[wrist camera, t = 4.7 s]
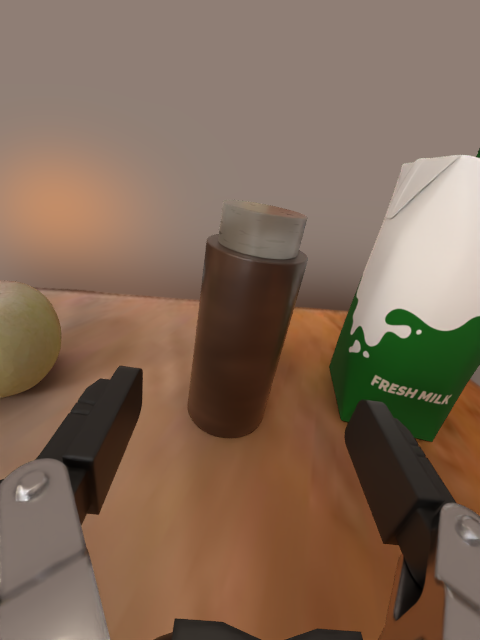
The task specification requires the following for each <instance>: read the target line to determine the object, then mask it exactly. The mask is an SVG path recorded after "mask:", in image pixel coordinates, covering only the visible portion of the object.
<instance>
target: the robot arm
mask: <svg viewBox="0 0 480 640" xmlns="http://www.w3.org/2000/svg"><path fill="white" fill-rule="evenodd" d="M142 382H143V372H142V369H140V368H133V367H126V366H119V367H118V368H117V370H116V371H115V373H114V374H113V376H112V378H111V379H110V380H108V379H101V378H100V379H99V380H97V381H96V382H95V383H93V384H92V385H90V386H89V387H88V388H86V390H85V391H84V393H83V394H82V395H81V397H80V398H79V400H78V403H76V404H75V405H74V407H73V408H72V410H71V412H70V413H69V414H68V415H67V417H66V418H65V420H64V421H63V422H62V424H61V425H60V427H59V428H58V429H57V431H56V432H55V434H54V435H53V436H52V438H51V439H50V441H49V442H48V444H47V445H46V446H45V448H44V449H43V451H42V452H41V453H40V455H39V456H38V457H37V458H36V459H35V460H34V461H31V462H28V463H26V464H24V465H22V466H20V467H18V468H17V469H16V470H14V471H13V472H12V473H10V474H9V475H8V476H7V477H6V478H5V479H3V480H0V640H110V636H109V632H108V628H107V624H106V620H105V616H104V612H103V608H102V604H101V600H100V596H99V591H98V587H97V583H96V579H95V575H94V571H93V567H92V563H91V559H90V556H89V552H88V549H87V548H86V544H85V540H84V536H83V532H82V528H81V525H82V523H83V521H84V519H85V516H86V514H97V515H99V513H100V510H101V508H102V505H103V503H104V501H105V498H106V496H107V493H108V491H109V489H110V486H111V484H112V481H113V479H114V476H115V474H116V472H117V469H118V467H119V464H120V462H121V459H122V457H123V455H124V452H125V450H126V447H127V445H128V442H129V440H130V438H131V435H132V433H133V430H134V428H135V426H136V423H137V421H138V418H139V415H140V411H141V407H142ZM345 443H346V447H347V449H348V452H349V454H350V457H351V460H352V462H353V465H354V468H355V470H356V473H357V475H358V478H359V481H360V483H361V486H362V489H363V491H364V494H365V496H366V499H367V502H368V504H369V507H370V510H371V512H372V515H373V517H374V520H375V523H376V525H377V528H378V531H379V533H380V536H381V538H382V541H383V544H392V545H399V546H400V549H401V551H402V554H401V555H400V557H399V559H398V563H397V568H396V573H395V578H394V583H393V588H392V593H391V598H390V603H389V608H388V613H387V618H386V622H385V625H384V628H383V631H382V633H381V635H380V637H379V638H378V640H480V516H479V515H478V514H476V513H475V512H473V511H472V510H470V509H469V508H467V507H465V506H462V505H460V504H457V503H456V502H455V500H454V499H453V497H452V495H451V494H450V492H449V491H448V489H447V488H446V486H445V485H444V483H443V482H442V480H441V478H440V477H439V475H438V474H437V472H436V471H435V469H434V468H433V466H432V464H431V463H430V461H429V460H428V458H426V457H425V454H424V452H423V451H422V449H421V447H418V443H417V441H416V440H415V438H414V437H413V435H412V434H411V432H410V431H409V430H408V429H407V428H406V427H405V426H404V425H403V424H402V423H401V422H400V421H399V420H398V419H397V418H394V417H393V416H392V414H391V412H390V411H389V409H388V408H387V406H386V405H385V404H384V403H383V402H378V401H370V400H360V401H359V402H358V404H357V406H356V408H355V410H354V412H353V414H352V416H351V418H350V421H349V423H348V425H347V427H346V430H345ZM154 640H261V639H258V638H256V637H254V636H252V635H250V634H248V633H245V632H243V631H241V630H239V629H237V628H234V627H232V626H230V625H228V624H226V623H224V622H216V621H202V620H188V619H175V621H174V627H173V632H172V633H169V634H166V635H163V636H160V637H158V638H156V639H154ZM286 640H363V638H362V634H361V632H356V631H342V630H328V629H315V630H312V631H309V632H306V633H303V634H300V635H297V636H294V637H292V638H289V639H286Z"/></svg>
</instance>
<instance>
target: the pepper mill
mask: <svg viewBox="0 0 480 640" xmlns="http://www.w3.org/2000/svg"><path fill="white" fill-rule="evenodd" d="M306 221H307V217H306V216H305V215H303V214H300V213H298V212H294V211H291V210H287V209H283V208H279V207H275V206H270V205H265V204H260V203H254V202H247V201H239V200H225V201H223V208H222V215H221V223H220V231H219V234H216V235H213V236H210V237H208V239H207V243H206V252H205V260H204V269H203V277H202V286H201V295H200V303H199V312H198V320H197V329H196V338H195V346H194V355H193V363H192V372H191V381H190V389H189V398H188V411H189V414H190V417H191V418H192V420H193V421H194V423H195V424H196V425H197V426H198V427H199V428H201V429H202V430H204V431H205V432H207V433H209V434H212V435H214V436H218V437H223V438H236V437H241V436H245V435H247V434H249V433H251V432H252V431H254V430H255V429H256V428H257V427H258V426H259V424H260V423H261V420H262V418H263V414H264V411H265V407H266V404H267V400H268V397H269V393H270V390H271V386H272V383H273V379H274V376H275V372H276V369H277V365H278V362H279V359H280V355H281V352H282V348H283V345H284V341H285V338H286V334H287V331H288V327H289V324H290V320H291V317H292V313H293V310H294V306H295V303H296V299H297V296H298V292H299V289H300V286H301V282H302V279H303V275H304V272H305V268H306V264H307V261H308V258H307V256H306V255H305V254H304V253H303V252H301V251H300V250H299V248H300V244H301V240H302V236H303V233H304V228H305V225H306Z"/></svg>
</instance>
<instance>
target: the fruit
mask: <svg viewBox="0 0 480 640" xmlns="http://www.w3.org/2000/svg"><path fill="white" fill-rule="evenodd" d="M60 347H61V327H60V323H59V319H58V316H57V314H56V312H55V310H54V308H53V306H52V304H51V303H50V302H49V300H48V299H47V298H46V297H45V296H44V295H43V294H42V293H41V292H40V291H38V290H36V289H35V288H33V287H31V286H29V285H26V284H23V283H20V282H16V281H0V398H2V397H7V396H11V395H14V394H17V393H20V392H23V391H25V390H28V389H30V388H32V387H33V386H35V385H36V384H37V383H39V382H40V381H41V380H42V379H43V378H44V377H45V376H46V375H47V373H48V372H49V371H50V370H51V368H52V367H53V365H54V364H55V362H56V360H57V358H58V355H59V351H60Z"/></svg>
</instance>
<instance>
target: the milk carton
mask: <svg viewBox="0 0 480 640" xmlns="http://www.w3.org/2000/svg"><path fill="white" fill-rule="evenodd" d="M479 365H480V149H479V151H478V154H477V156H476V157H473V156H468V155H454V156H445V157H437V158H430V159H428V158H421V159H417V160H416V162H413V163H405V164H403V165H402V169H401V171H400V175H399V177H398V180H397V184H396V186H395V189H394V192H393V195H392V198H391V201H390V204H389V207H388V210H387V213H386V215H385V219H384V221H383V224H382V227H381V229H380V232H379V234H378V237H377V239H376V242H375V244H374V247H373V249H372V252H371V255H370V257H369V260H368V262H367V265H366V267H365V270H364V273H363V275H362V278H361V280H360V283H359V286H358V288H357V291H356V294H355V296H354V299H353V301H352V304H351V307H350V309H349V312H348V314H347V317H346V319H345V322H344V325H343V328H342V330H341V333H340V336H339V339H338V342H337V345H336V348H335V351H334V354H333V357H332V360H331V363H330V366H329V368H330V373H331V377H332V382H333V386H334V391H335V395H336V400H337V404H338V409H339V413H340V418H341V420H342V421H347V422H349V421H350V418H351V416H352V414H353V412H354V410H355V408H356V406H357V404H358V402H359V401H360V400H370V401H378V402H383V403H384V404H385V405H386V406H387V408H388V409H389V411H390V412H391V414H392V416H393V417H394V418H397V419H398V420H399V421H400V422H401V423H402V424H403V425H404V426H405V427H406V428H407V429H408V430H409V431H410V432H411V434H412V435H413V437H414V438H418V439H422V440H426V441H430V442H432V441H433V440H434V438H435V436H436V434H437V433H438V431H439V429H440V428H441V426H442V424H443V423H444V421H445V419H446V418H447V416H448V414H449V412H450V411H451V409H452V407H453V406H454V404H455V402H456V401H457V399H458V397H459V396H460V394H461V392H462V391H463V389H464V387H465V386H466V384H467V382H468V381H469V379H470V378H471V376H472V375H473V374H474V372H475V371H476V369H477V368H478V366H479Z"/></svg>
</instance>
